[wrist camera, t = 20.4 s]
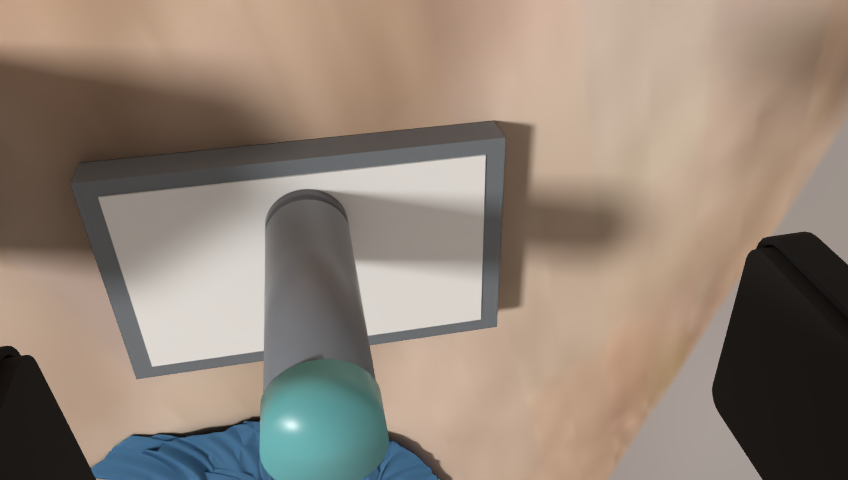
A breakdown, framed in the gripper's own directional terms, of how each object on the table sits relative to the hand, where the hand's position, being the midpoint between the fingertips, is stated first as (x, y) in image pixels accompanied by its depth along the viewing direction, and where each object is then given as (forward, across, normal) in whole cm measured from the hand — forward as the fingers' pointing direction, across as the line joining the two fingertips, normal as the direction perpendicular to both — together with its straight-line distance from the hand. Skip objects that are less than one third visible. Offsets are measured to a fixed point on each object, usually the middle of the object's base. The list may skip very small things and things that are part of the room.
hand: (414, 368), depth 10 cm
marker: (+23, +2, +12) cm, 26 cm away
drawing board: (+25, +3, +15) cm, 29 cm away
